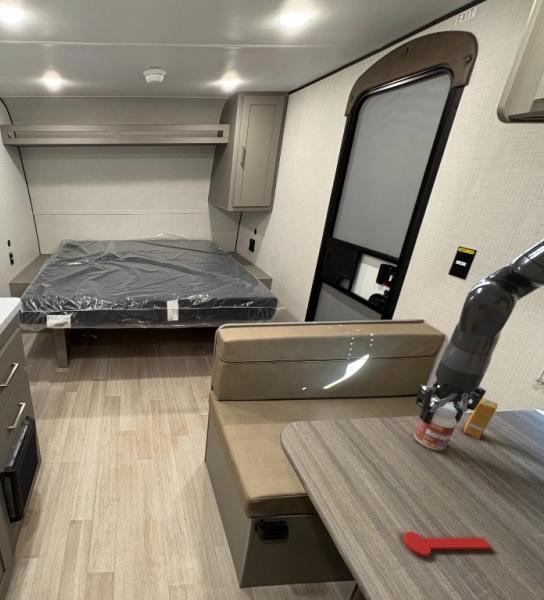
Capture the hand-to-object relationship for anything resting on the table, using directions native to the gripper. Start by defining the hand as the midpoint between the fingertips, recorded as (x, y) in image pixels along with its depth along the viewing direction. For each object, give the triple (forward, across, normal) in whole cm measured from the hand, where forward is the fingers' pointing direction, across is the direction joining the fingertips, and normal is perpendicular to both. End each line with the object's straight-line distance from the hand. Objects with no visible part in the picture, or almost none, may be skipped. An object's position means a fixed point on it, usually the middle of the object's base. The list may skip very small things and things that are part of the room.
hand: (438, 421), depth 79 cm
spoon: (+7, -17, -24) cm, 31 cm away
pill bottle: (+7, 0, 0) cm, 7 cm away
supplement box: (+7, +14, +3) cm, 16 cm away
